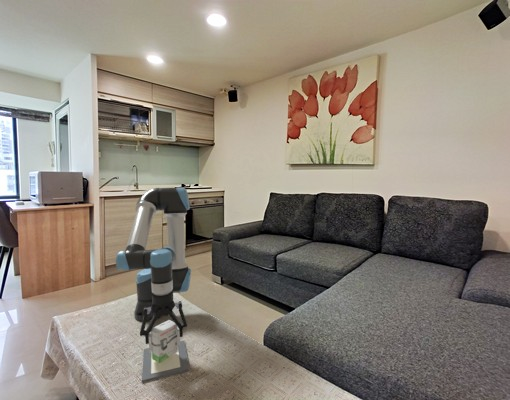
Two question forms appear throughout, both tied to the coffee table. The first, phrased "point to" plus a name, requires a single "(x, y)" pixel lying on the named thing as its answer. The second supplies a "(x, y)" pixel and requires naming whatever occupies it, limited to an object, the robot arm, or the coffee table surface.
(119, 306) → the coffee table surface
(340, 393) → the coffee table surface
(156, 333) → the ink box
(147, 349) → the writing mat
